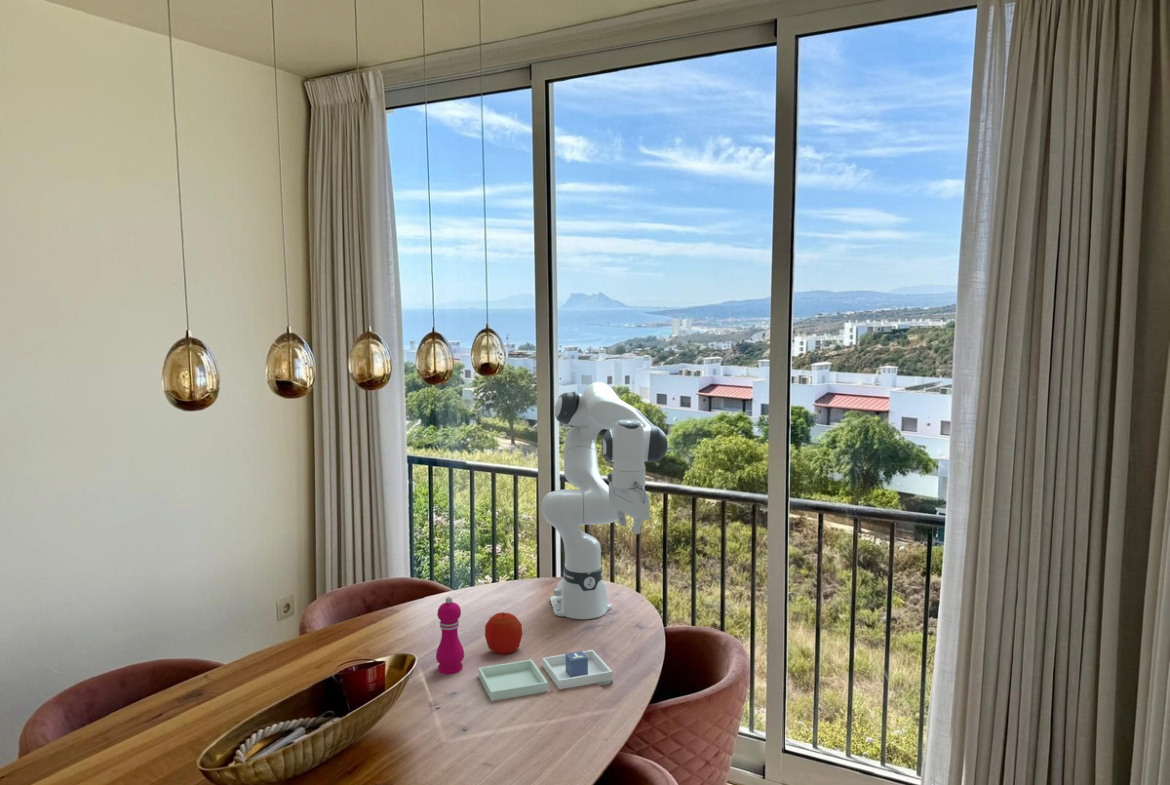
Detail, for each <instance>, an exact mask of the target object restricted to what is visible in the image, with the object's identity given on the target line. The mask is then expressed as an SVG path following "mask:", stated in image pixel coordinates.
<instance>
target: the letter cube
mask: <svg viewBox="0 0 1170 785" xmlns="http://www.w3.org/2000/svg"><path fill="white" fill-rule="evenodd" d="M565 657H566V672H567V673H568V674H569V676H570V677H577V676H583V675H588V658H587V656H586V655H585V654H584V653H583V652H582V650H579V651H573V652H567V653H565Z"/></svg>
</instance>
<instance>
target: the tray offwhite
mask: <svg viewBox="0 0 1170 785" xmlns="http://www.w3.org/2000/svg"><path fill="white" fill-rule="evenodd" d="M581 651H582V650H581ZM582 652H583V653H584V654H585V655H586V656H587V658H588V675H583V676H577V677H570V676H569V674H568V673H567V672H566V657H565V654H566V653H565V654H557V655H552V656H546V657H542V658H541V659H542V660H541V662H542V663H541V667H542V668H543V669H544V671H545V672H546V674H547V675H548V676H549V678H550V679H551V680H552V681H553V684H555V686H556V688H558V690H565V689H570V688H576V687H582V686H588V685H594V684H598V685H599V686H604V685H610V684H613V683H614V671H613V670H612V669H611V668H610V667H609V666H608V665H607V664H606V662H604V660H603V659H602V657H600V655H598V654H597V653H596V651H595V650H593V649H589V650H584V651H582Z"/></svg>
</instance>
